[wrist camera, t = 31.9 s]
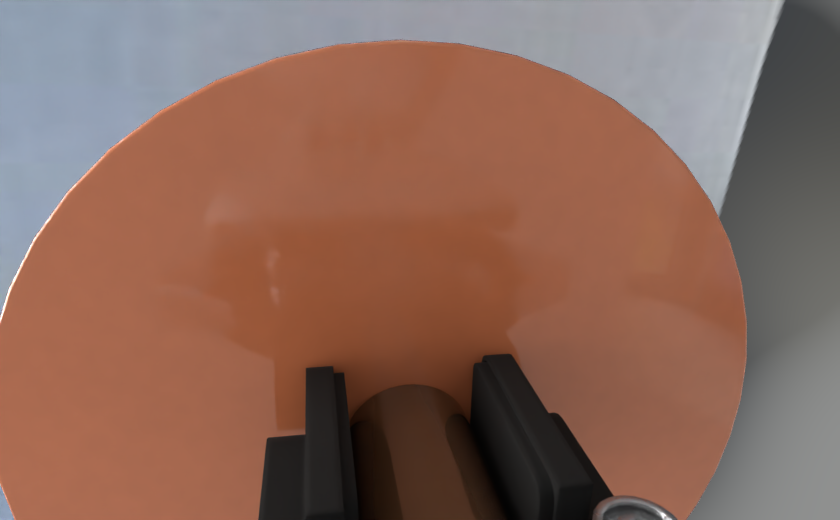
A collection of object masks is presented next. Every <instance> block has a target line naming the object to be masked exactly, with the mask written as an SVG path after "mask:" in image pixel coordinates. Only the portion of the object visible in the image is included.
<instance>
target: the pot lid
mask: <svg viewBox="0 0 840 520" xmlns="http://www.w3.org/2000/svg"><path fill="white" fill-rule="evenodd" d="M746 344H747V319H746V311H745V304H744V297H743V289H742V282H741V278H740V274H739V271H738V268H737V264H736V261H735V257H734V254H733V251H732V247H731V244H730V241H729V239H728V236H727V234H726V232H725V230H724V228H723V226H722V224H721V222H720V219H719V217H718V215H717V213H716V211H715V209H714V207H713V205H712V203H711V201H710V199H709V198H708V196H707V195H706V193H705V192H704V190H703V189H702V187H701V186H700V185H699V183H698V182H697V180H696V179H695V177H694V176H693V174H692V173H691V171H690V170H689V168H688V167H687V165H686V164H685V163H684V162H683V161H682V160H681V159H680V158H679V157H678V156H677V154H676V153H675V152H674V151H673V150H672V149H671V148H670V147H669V146H668V145H667V144H666V143H665V142H664V141H663V140H662V139H661V138H660V136H659V135H658V134H657V133H656V132H655V131H654V130H653V129H651V128H650V127H649V126H648V125H646V124H645V123H644V122H642V121H641V120H640V119H639V118H637V117H636V116H635V115H633V114H632V113H631V112H629V111H628V110H627V109H626V108H624V107H623V106H622V105H620V104H619V103H618V102H617V101H615V100H614V99H612V98H610V97H608V96H607V95H605V94H603V93H601V92H599V91H598V90H596V89H594V88H592V87H590V86H588V85H587V84H585V83H583V82H581V81H579V80H578V79H576V78H574V77H572V76H570V75H568V74H566V73H563V72H560V71H558V70H555V69H552V68H550V67H547V66H544V65H541V64H539V63H536V62H533V61H531V60H528V59H525V58H522V57H520V56H517V55H512V54H508V53H503V52H498V51H493V50H489V49H484V48H479V47H474V46H469V45H465V44H460V43H444V42H428V41H412V40H384V41H371V42H358V43H345V44H335V45H331V46H326V47H321V48H317V49H312V50H308V51H303V52H299V53H294V54H290V55H285V56H281V57H276V58H274V59H271V60H268V61H266V62H263V63H260V64H258V65H255V66H252V67H250V68H247V69H244V70H242V71H239V72H236V73H234V74H231V75H228V76H225V77H223V78H220V79H218V80H216V81H214V82H212V83H210V84H209V85H207V86H205V87H203V88H201V89H199V90H197V91H196V92H194V93H192V94H190V95H188V96H186V97H185V98H183V99H181V100H179V101H177V102H175V103H174V104H172V105H170V106H168V107H166V108H164V109H163V110H161V111H159V112H158V113H157V114H155V115H154V116H153V117H151V118H150V119H149V120H147V121H146V122H144V123H143V124H142V125H140V126H139V127H138V128H136V129H135V130H134V131H132V132H131V133H130V134H128V135H127V136H126V137H124V138H123V139H122V140H120V141H119V142H118V143H116V144H115V145H114V146H112V147H111V148H110V149H109V150H108V151H107V152H106V153H105V154H104V155H103V156H102V157H101V158H100V159H99V160H98V161H97V162H96V163H95V164H94V165H93V166H92V167H91V168H90V169H89V170H88V171H87V172H86V173H85V174H84V175H83V176H82V177H81V178H80V179H79V180H78V181H77V182H76V183H75V184H74V185H73V186H72V187H71V188H70V189H69V190H68V192H67V193H66V194H65V196H64V197H63V198H62V200H61V201H60V203H59V204H58V205H57V207H56V208H55V210H54V211H53V212H52V214H51V215H50V217H49V218H48V219H47V221H46V222H45V223H44V225H43V226H42V228H41V229H40V230H39V232H38V233H37V235H36V236H35V237H34V239H33V241H32V243H31V245H30V247H29V249H28V251H27V253H26V255H25V257H24V259H23V261H22V263H21V265H20V267H19V269H18V271H17V273H16V275H15V277H14V279H13V281H12V283H11V285H10V287H9V290H8V293H7V296H6V300H5V303H4V306H3V309H2V313H1V316H0V485H1V487H2V490H3V492H4V495H5V497H6V500H7V502H8V505H9V507H10V510H11V512H12V515H13V517H14V520H258V517H259V507H260V498H261V488H262V478H263V469H264V459H265V449H266V441H267V438H269V437H280V436H292V435H303V434H305V405H306V368H310V367H324V366H333V372H334V373H342V372H344V375H345V385H346V394H347V404H348V413H349V423H350V432H351V442H352V451H353V461H354V470H355V480H356V489H357V499H358V514H359V520H509V518H508V516H507V513H506V511H505V508H504V506H503V504H502V501H501V499H500V496H499V494H498V492H497V489H496V487H495V484H494V482H493V479H492V477H491V475H490V472H489V470H488V467H487V465H486V463H485V460H484V458H483V455H482V453H481V451H480V448H479V446H478V443H477V441H476V438H475V436H474V434H473V431H472V429H471V426H470V414H471V397H472V380H473V367H474V364H475V363H481V362H482V358H483V356H484V355H496V354H511V355H512V356H513V357H514V359H515V361H516V362H517V364H518V365H519V367H520V369H521V370H522V372H523V373H524V375H525V376H526V378H527V380H528V381H529V383H530V384H531V386H532V387H533V389H534V391H535V392H536V394H537V395H538V397H539V399H540V400H541V402H542V403H543V405H544V406H545V408H546V410H547V411H548V413H553V412H555V413H558V414H559V415H560V416H561V417H562V418H563V420H564V421H565V423H566V424H567V426H568V427H569V429H570V430H571V432H572V433H573V435H574V436H575V438H576V439H577V441H578V442H579V444H580V445H581V447H582V449H583V450H584V452H585V453H586V455H587V456H588V458H589V459H590V461H591V462H592V464H593V465H594V467H595V468H596V470H597V471H598V473H599V474H600V476H601V477H602V479H603V480H604V482H605V483H606V485H607V486H608V488H609V489H610V491H611V492H612V494H613V495H614V496H619V495H626V496H636V497H640V498H644V499H648V500H650V501H652V502H654V503H656V504H658V505H660V506H662V507H664V508H665V509H666V510H668V511H669V512H670V513H672V514H673V515H674V516H675V517H676V518H677V519H678V520H686V519H687V518H688V517H689V515H690V514H691V512H692V511H693V509H694V508H695V507H696V505H697V504H698V502H699V500H700V498H701V497H702V495H703V493H704V491H705V489H706V488H707V486H708V484H709V482H710V480H711V478H712V477H713V475H714V473H715V471H716V469H717V467H718V464H719V462H720V460H721V457H722V455H723V452H724V450H725V448H726V445H727V443H728V440H729V438H730V435H731V432H732V428H733V425H734V421H735V418H736V414H737V411H738V407H739V403H740V400H741V393H742V386H743V380H744V374H745V367H746V356H747V352H746V351H747V347H746V346H747V345H746Z"/></svg>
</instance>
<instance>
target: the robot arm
mask: <svg viewBox="0 0 840 520" xmlns="http://www.w3.org/2000/svg"><path fill="white" fill-rule="evenodd" d="M470 426H471V429H472V431H473V434H474V436H475V438H476V441H477V443H478V446H479V448H480V451H481V453H482V455H483V458H484V460H485V463H486V465H487V467H488V470H489V472H490V475H491V477H492V479H493V482H494V484H495V487H496V489H497V492H498V494H499V496H500V499H501V501H502V504H503V506H504V508H505V511H506V513H507V516H508V518H509V520H678V519H677V518H676V517H675V516H674V515H673V514H672V513H670V512H669V511H668V510H666V509H665V508H664V507H662V506H660V505H658V504H656V503H654V502H652V501H650V500H648V499H644V498H640V497H636V496H626V495H619V496H614V495H613V494H612V492H611V491H610V489H609V488H608V486H607V485H606V483H605V482H604V480H603V479H602V477H601V476H600V474H599V473H598V471H597V470H596V468H595V467H594V465H593V464H592V462H591V461H590V459H589V458H588V456H587V455H586V453H585V452H584V450H583V449H582V447H581V445H580V444H579V442H578V441H577V439H576V438H575V436H574V435H573V433H572V432H571V430H570V429H569V427H568V426H567V424H566V423H565V421H564V420H563V418H562V417H561V416H560V415H559V414H558V413H555V412H553V413H548V411H547V410H546V408H545V406H544V405H543V403H542V402H541V400H540V399H539V397H538V395H537V394H536V392H535V391H534V389H533V387H532V386H531V384H530V383H529V381H528V380H527V378H526V376H525V375H524V373H523V372H522V370H521V369H520V367H519V365H518V364H517V362H516V361H515V359H514V357H513V356H512V355H511V354H496V355H484V356H483V358H482V362H481V363H475V364H474V367H473V380H472V397H471V414H470ZM258 520H359V514H358V499H357V489H356V480H355V470H354V461H353V451H352V442H351V432H350V423H349V413H348V404H347V394H346V385H345V375H344V372H342V373H334V372H333V366H324V367H310V368H306V405H305V434H303V435H292V436H280V437H269V438H267V441H266V449H265V459H264V469H263V478H262V488H261V498H260V507H259V517H258Z"/></svg>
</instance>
